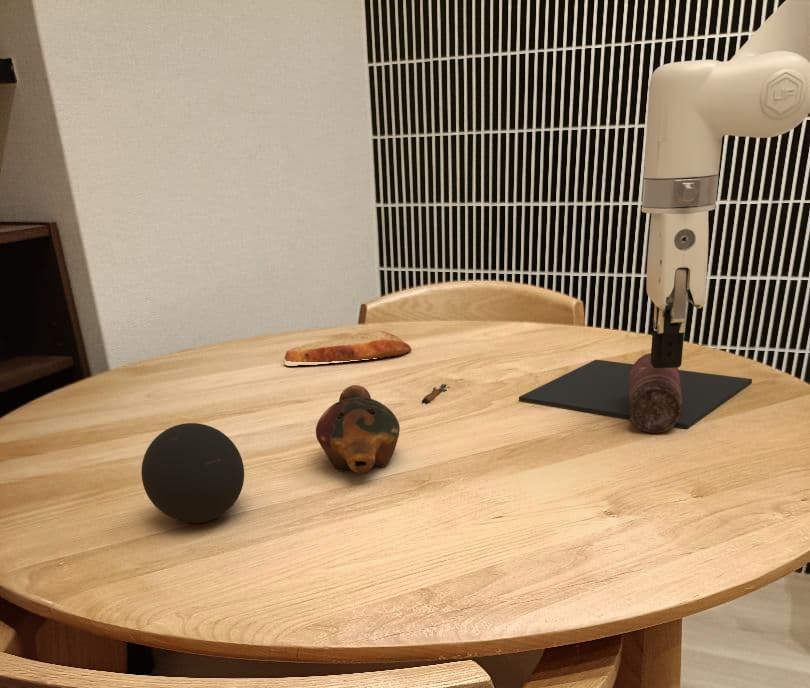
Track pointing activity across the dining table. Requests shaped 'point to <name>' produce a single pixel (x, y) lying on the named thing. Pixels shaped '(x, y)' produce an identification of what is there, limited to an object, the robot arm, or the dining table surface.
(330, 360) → the bread slice
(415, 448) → the dining table surface
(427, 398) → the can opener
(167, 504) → the speaker
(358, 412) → the decorative turtle
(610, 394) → the mat
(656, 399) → the can
